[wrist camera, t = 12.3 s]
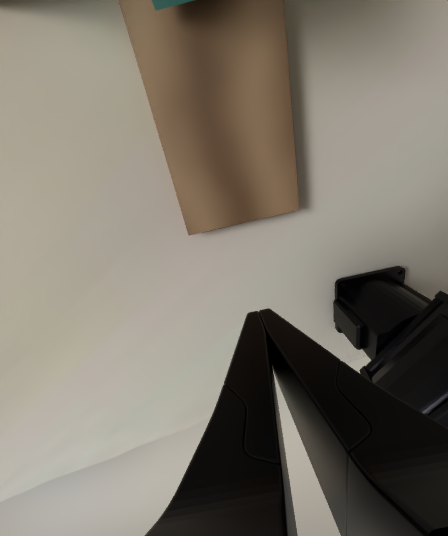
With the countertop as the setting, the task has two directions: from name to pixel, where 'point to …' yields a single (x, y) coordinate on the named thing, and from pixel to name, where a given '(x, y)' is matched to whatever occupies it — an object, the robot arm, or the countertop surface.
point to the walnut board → (220, 105)
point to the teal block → (167, 3)
